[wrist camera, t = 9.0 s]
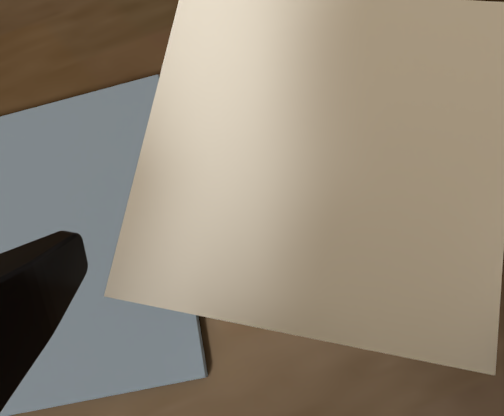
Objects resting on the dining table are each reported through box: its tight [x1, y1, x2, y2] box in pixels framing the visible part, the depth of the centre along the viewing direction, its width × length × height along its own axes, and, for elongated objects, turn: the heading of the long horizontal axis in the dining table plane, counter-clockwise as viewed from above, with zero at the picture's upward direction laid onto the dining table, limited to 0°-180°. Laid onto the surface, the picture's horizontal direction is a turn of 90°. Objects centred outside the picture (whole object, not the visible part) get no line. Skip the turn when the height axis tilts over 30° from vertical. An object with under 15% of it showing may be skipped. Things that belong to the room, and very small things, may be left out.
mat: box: [0, 74, 208, 416], centre depth 20 cm, size 14×14×1 cm
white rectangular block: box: [104, 0, 504, 376], centre depth 14 cm, size 7×7×10 cm
